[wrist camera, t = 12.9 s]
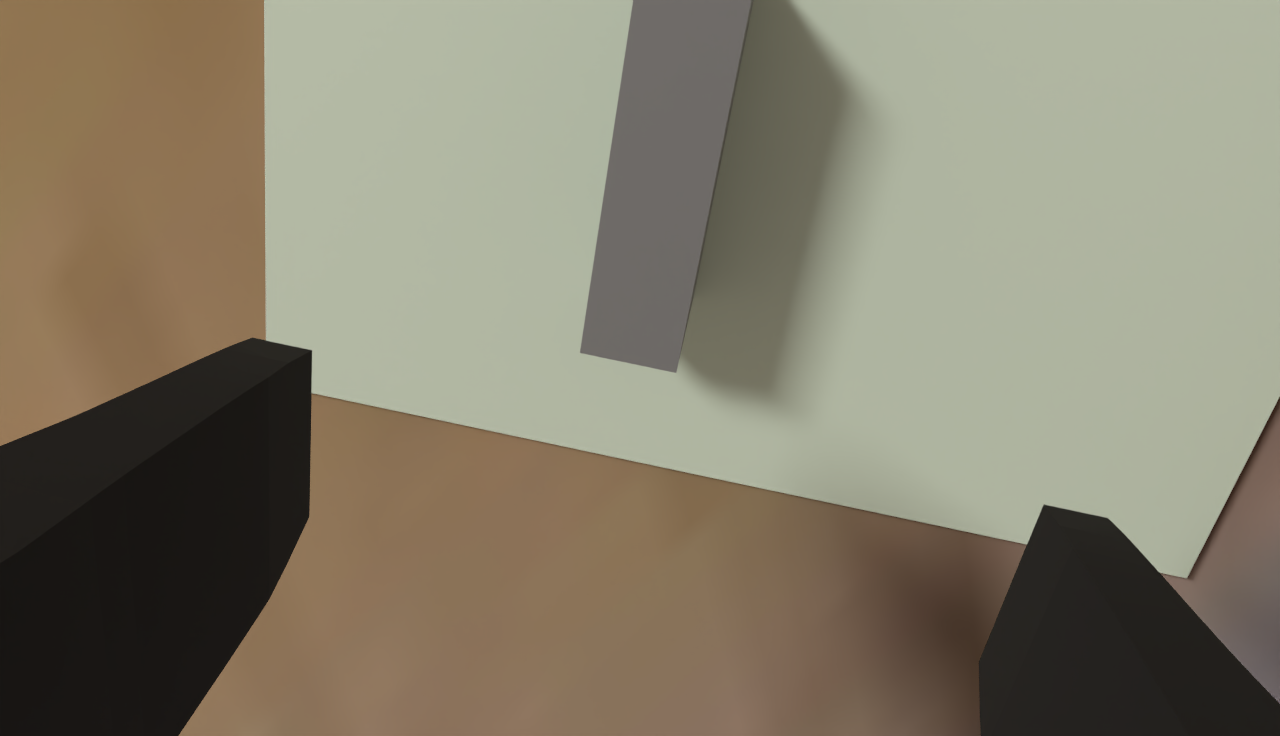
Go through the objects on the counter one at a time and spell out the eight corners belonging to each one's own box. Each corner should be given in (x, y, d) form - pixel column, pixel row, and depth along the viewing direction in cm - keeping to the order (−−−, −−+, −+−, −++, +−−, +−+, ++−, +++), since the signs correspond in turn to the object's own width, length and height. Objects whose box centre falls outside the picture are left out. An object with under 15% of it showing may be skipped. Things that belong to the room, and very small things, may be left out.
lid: (1173, 546, 24) (1229, 680, 20) (286, 359, 25) (202, 460, 21) (1534, -185, 17) (1705, -158, 14) (289, -412, 18) (167, -438, 14)
